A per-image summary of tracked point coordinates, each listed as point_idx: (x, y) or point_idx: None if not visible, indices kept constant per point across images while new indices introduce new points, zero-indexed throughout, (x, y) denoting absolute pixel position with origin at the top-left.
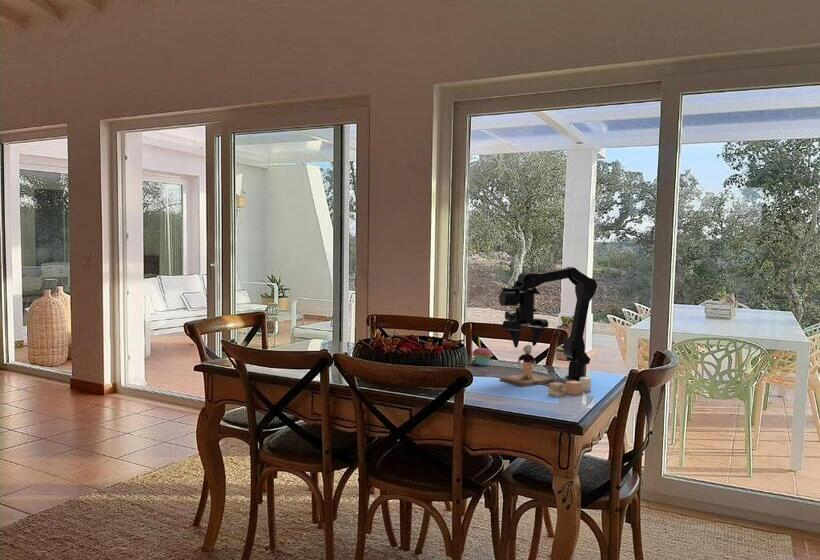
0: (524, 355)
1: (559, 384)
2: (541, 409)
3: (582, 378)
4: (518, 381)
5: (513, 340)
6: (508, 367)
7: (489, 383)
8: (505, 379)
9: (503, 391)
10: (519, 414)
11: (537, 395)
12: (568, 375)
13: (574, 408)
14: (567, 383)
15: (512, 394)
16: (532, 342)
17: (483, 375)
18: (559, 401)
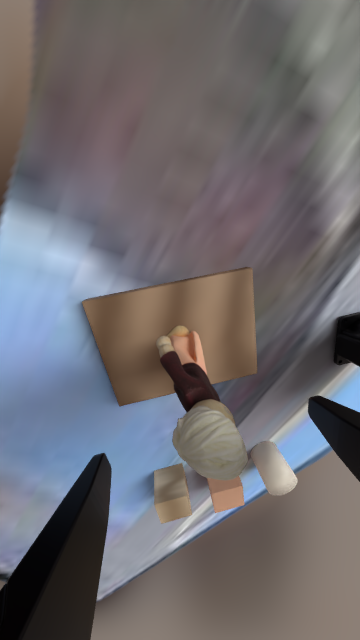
0: (181, 401)
1: (173, 515)
2: None
3: (271, 487)
4: (122, 382)
5: (41, 554)
6: (270, 21)
7: (19, 338)
8: (94, 332)
9: (35, 437)
10: (4, 579)
11: (117, 477)
12: (340, 337)
13: (141, 551)
14: (211, 494)
15: (51, 465)
16: (331, 414)
17: (39, 184)
18: (141, 517)
